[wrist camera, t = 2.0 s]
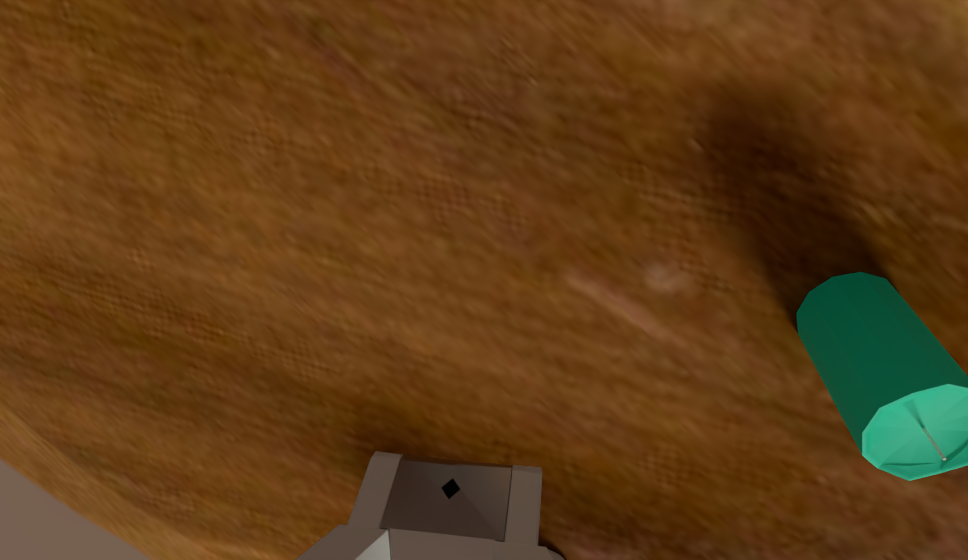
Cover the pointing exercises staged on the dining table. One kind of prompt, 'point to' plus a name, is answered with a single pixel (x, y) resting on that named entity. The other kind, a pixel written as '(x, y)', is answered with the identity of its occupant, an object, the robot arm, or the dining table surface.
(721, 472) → the dining table surface
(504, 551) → the robot arm
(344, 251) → the dining table surface
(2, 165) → the dining table surface
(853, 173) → the dining table surface
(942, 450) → the candle
